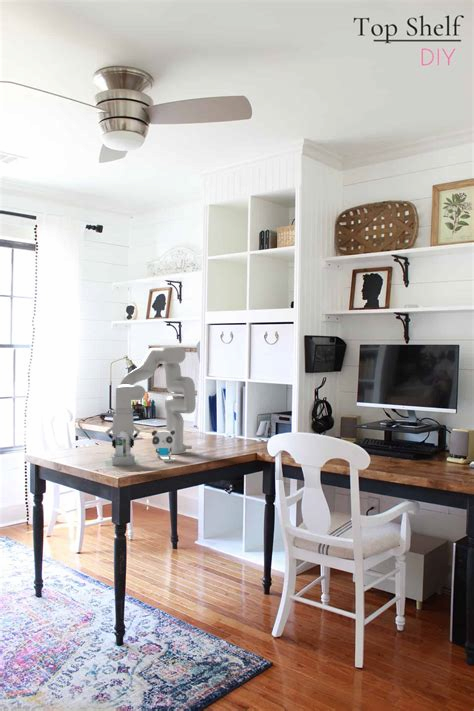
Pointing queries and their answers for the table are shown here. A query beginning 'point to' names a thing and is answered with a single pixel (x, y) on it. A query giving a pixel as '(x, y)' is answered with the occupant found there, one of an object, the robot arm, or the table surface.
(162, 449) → the panda figurine
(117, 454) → the syrup box
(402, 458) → the table surface
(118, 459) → the chute collar
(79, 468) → the table surface
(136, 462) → the deck plate
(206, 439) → the table surface
